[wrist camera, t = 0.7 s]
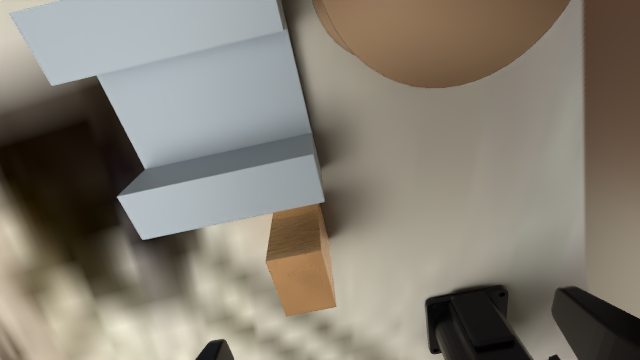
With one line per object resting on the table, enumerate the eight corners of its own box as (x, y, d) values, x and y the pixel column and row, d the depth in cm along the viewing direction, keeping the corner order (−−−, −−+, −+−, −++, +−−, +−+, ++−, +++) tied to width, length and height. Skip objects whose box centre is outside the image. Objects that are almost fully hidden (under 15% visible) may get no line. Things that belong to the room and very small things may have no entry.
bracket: (320, 169, 20) (324, 201, 16) (170, 201, 21) (142, 239, 17) (272, -35, 15) (263, -52, 12) (76, 14, 16) (8, 13, 12)
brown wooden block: (328, 238, 23) (336, 306, 17) (290, 246, 23) (286, 316, 17) (316, 191, 21) (321, 250, 15) (275, 199, 21) (265, 261, 16)
